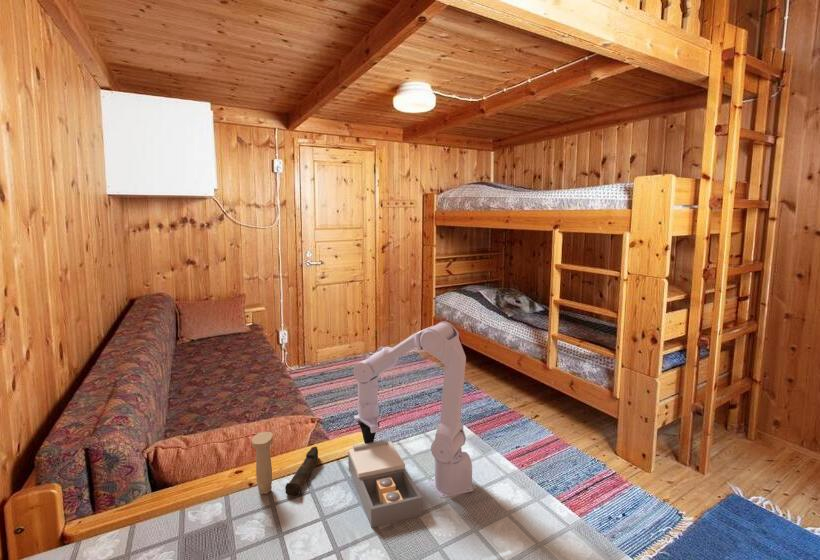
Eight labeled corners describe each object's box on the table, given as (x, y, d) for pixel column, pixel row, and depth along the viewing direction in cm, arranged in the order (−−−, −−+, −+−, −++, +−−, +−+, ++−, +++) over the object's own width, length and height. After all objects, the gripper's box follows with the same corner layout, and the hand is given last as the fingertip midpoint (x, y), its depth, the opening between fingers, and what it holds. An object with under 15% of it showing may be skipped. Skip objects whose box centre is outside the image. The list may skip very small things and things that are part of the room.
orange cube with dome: (398, 505, 106) (398, 489, 106) (403, 515, 102) (403, 498, 102) (382, 508, 105) (382, 492, 104) (387, 519, 101) (387, 502, 100)
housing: (390, 461, 126) (390, 445, 126) (422, 516, 103) (422, 497, 102) (348, 469, 122) (348, 452, 122) (371, 529, 98) (371, 509, 98)
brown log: (299, 498, 110) (299, 482, 109) (284, 497, 110) (284, 480, 110) (326, 459, 128) (325, 444, 128) (313, 457, 129) (313, 443, 128)
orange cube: (395, 500, 108) (395, 484, 107) (380, 503, 107) (380, 487, 106) (391, 491, 112) (390, 475, 111) (376, 494, 110) (376, 478, 110)
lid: (390, 445, 125) (390, 438, 125) (405, 468, 114) (405, 461, 113) (348, 453, 121) (348, 446, 121) (358, 478, 109) (358, 470, 109)
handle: (252, 499, 109) (249, 444, 107) (259, 484, 115) (256, 432, 113) (271, 498, 110) (268, 443, 107) (277, 483, 116) (274, 431, 114)
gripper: (349, 392, 128) (350, 435, 130) (360, 412, 115) (361, 460, 117) (371, 389, 131) (372, 431, 132) (385, 409, 117) (385, 455, 119)
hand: (368, 444), depth 125 cm, fingers closed
